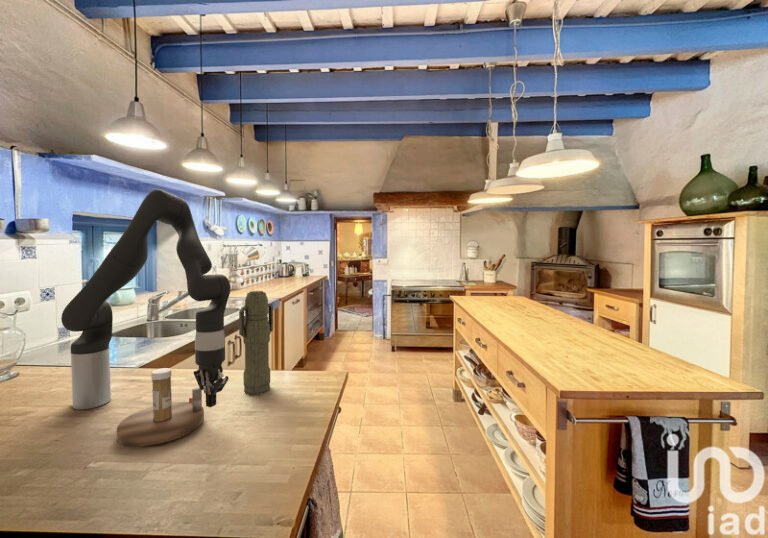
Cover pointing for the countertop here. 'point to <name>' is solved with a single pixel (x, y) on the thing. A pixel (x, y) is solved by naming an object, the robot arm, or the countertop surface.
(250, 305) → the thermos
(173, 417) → the turntable
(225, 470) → the countertop surface
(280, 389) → the countertop surface
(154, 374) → the sprinkles bottle
